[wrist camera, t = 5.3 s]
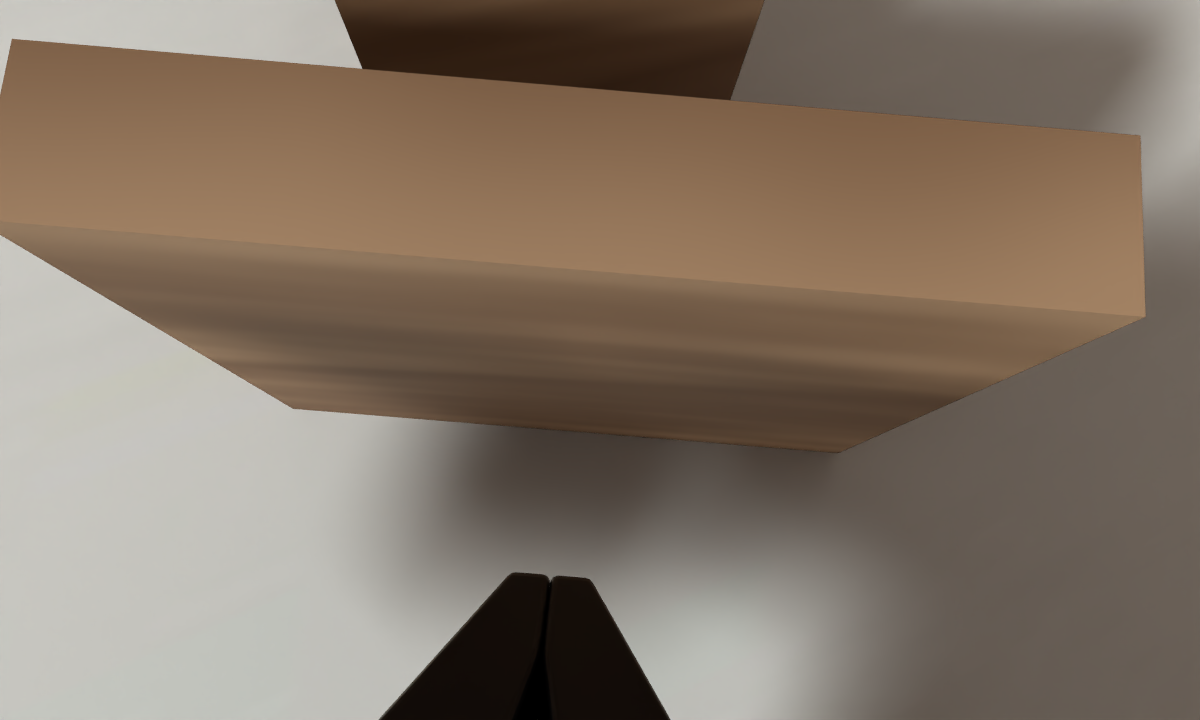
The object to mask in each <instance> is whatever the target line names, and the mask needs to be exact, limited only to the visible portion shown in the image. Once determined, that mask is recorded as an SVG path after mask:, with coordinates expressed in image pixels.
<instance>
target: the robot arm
mask: <svg viewBox="0 0 1200 720" xmlns="http://www.w3.org/2000/svg"><path fill="white" fill-rule="evenodd" d="M379 720H670V718H669V716H668V714H667V713H666V711H665V709H664V707H663V705H662V704H661V702H660V700H659V698H658V697H657V695H656V693H655V691H654V690H653V688H652V686H651V684H650V683H649V681H648V679H647V677H646V676H645V674H644V672H643V670H642V668H641V667H640V665H639V663H638V661H637V660H636V658H635V656H634V654H633V653H632V651H631V649H630V647H629V646H628V644H627V642H626V640H625V639H624V637H623V635H622V633H621V631H620V630H619V628H618V626H617V624H616V623H615V621H614V619H613V617H612V616H611V614H610V612H609V610H608V609H607V607H606V605H605V603H604V602H603V600H602V598H601V596H600V594H599V593H598V591H597V589H596V587H595V586H594V584H593V583H592V581H591V580H589V579H587V578H580V577H568V576H555V577H553V578H552V580H551V583H550V580H549V578H548V577H547V576H546V575H543V574H531V573H518V572H515V573H511V574H510V575H508V576H507V577H506V579H505V580H504V581H503V582H502V583H501V584H500V585H499V586H498V587H497V589H496V590H495V591H494V592H493V593H492V594H491V595H490V596H489V597H488V599H487V600H486V601H485V602H484V603H483V604H482V605H481V606H480V607H479V609H478V610H477V611H476V612H475V613H474V614H473V615H472V616H471V617H470V619H469V620H468V621H467V622H466V623H465V624H464V625H463V626H462V627H461V629H460V630H459V631H458V632H457V633H456V634H455V635H454V636H453V637H452V639H451V640H450V641H449V642H448V643H447V644H446V645H445V646H444V647H443V649H442V650H441V651H440V652H439V653H438V654H437V655H436V656H435V657H434V659H433V660H432V661H431V662H430V663H429V664H428V665H427V666H426V668H425V669H424V670H423V671H422V672H421V673H420V674H419V675H418V676H417V678H416V679H415V680H414V681H413V682H412V683H411V684H410V685H409V686H408V688H407V689H406V690H405V691H404V692H403V693H402V694H401V695H400V696H399V698H398V699H397V700H396V701H395V702H394V703H393V704H392V705H391V706H390V708H389V709H388V710H387V711H386V712H385V713H384V714H383V715H382V716H381V718H380V719H379Z"/></svg>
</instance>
